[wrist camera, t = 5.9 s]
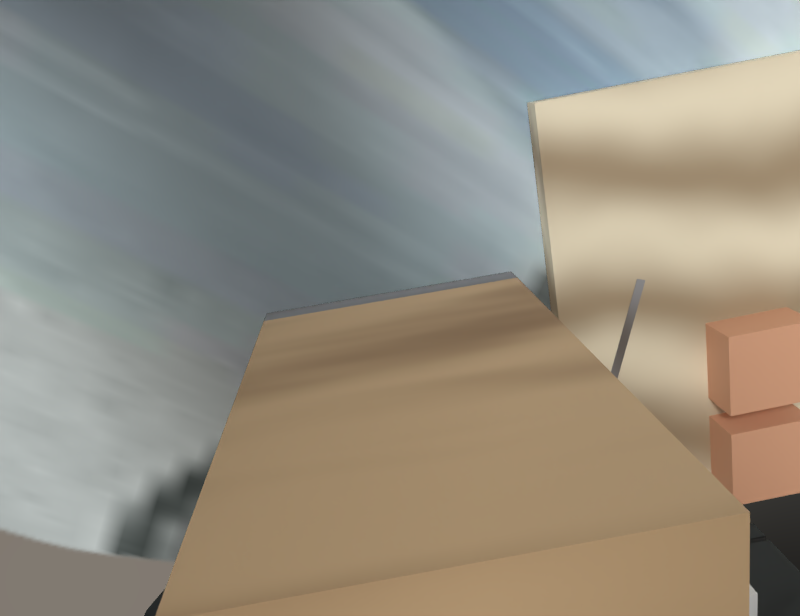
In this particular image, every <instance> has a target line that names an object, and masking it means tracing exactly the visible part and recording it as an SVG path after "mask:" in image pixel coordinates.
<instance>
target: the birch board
mask: <svg viewBox="0 0 800 616" xmlns="http://www.w3.org/2000/svg"><path fill="white" fill-rule="evenodd" d="M527 107H528V116H529V124H530V133H531V141H532V150H533V159H534V167H535V176H536V184H537V193H538V202H539V210H540V219H541V228H542V236H543V245H544V253H545V262H546V271H547V279H548V288H549V296H550V305H551V312H552V313H553V314H554V315H555V316H556V317H557V318H558V319H559V320H560V321H561V322H562V323H563V324H564V325H565V326H566V327H567V328H568V329H569V330H570V331H571V332H572V333H573V334H574V335H575V336H576V337H577V338H578V339H579V340H580V341H581V342H582V343H583V344H584V345H585V346H586V347H587V348H588V349H589V350H590V351H591V352H592V353H593V354H594V355H595V357H596V358H597V359H598V360H599V361H600V362H601V363H602V364H603V365H604V366H605V367H606V368H607V369H608V370H609V371H610V372H611V373H612V374H613V375H614V376H615V377H616V378H617V379H618V380H619V381H620V382H621V383H622V384H623V385H624V386H625V387H626V388H627V389H628V390H629V391H630V392H631V393H632V394H633V395H634V396H635V397H636V398H637V399H638V400H639V401H640V402H641V403H642V404H643V405H644V406H645V407H646V408H647V409H648V410H649V411H650V412H651V413H652V414H653V415H654V416H655V417H656V418H657V419H658V420H659V421H660V422H661V423H662V424H663V425H664V426H665V427H666V428H667V429H668V430H669V431H670V432H671V433H672V434H673V435H674V436H675V437H676V438H677V439H678V440H679V441H680V442H681V443H682V444H683V445H684V446H685V447H686V448H687V449H688V450H689V451H690V452H691V453H692V454H693V455H694V456H695V457H696V458H697V459H698V460H699V461H700V462H701V463H702V464H703V465H704V466H705V467H706V468H707V469H708V470H709V471H710V472H711V449H710V424H709V416H711V415H716V414H721V413H726V412H725V411H724V410H723V409H721V408H720V407H719V406H718V405H716V404H715V403H714V402H713V401H711V400H710V399H709V398H708V373H707V348H706V323H709V322H714V321H719V320H724V319H729V318H734V317H739V316H744V315H749V314H754V313H759V312H764V311H769V310H774V309H779V308H784V307H788V308H790V309H792V310H794V311H796V312H798V313H800V50H798V51H793V52H788V53H783V54H778V55H772V56H767V57H762V58H757V59H752V60H746V61H741V62H736V63H731V64H726V65H720V66H715V67H710V68H705V69H700V70H694V71H689V72H684V73H679V74H674V75H668V76H663V77H658V78H653V79H648V80H642V81H637V82H632V83H627V84H622V85H616V86H611V87H606V88H601V89H596V90H590V91H585V92H580V93H575V94H570V95H564V96H559V97H554V98H549V99H544V100H538V101H533V102H528V103H527ZM793 405H794V406H796V407H797V408H799V409H800V402H798V403H793Z"/></svg>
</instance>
